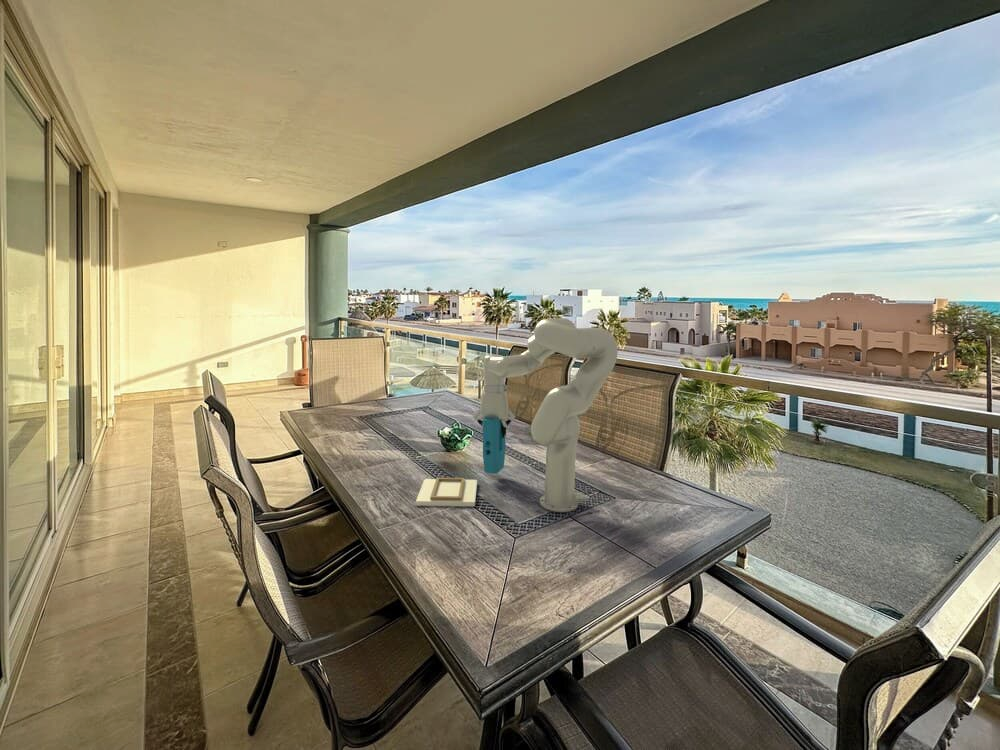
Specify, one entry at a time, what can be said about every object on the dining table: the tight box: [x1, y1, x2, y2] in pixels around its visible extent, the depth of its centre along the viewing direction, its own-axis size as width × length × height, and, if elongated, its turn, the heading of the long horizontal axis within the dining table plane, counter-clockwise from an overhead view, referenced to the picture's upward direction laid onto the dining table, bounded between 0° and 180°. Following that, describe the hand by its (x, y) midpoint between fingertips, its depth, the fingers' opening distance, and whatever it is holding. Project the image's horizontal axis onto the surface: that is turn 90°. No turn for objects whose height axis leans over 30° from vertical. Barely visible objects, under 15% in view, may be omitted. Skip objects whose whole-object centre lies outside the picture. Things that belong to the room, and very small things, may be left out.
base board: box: [415, 477, 478, 507], centre depth 157 cm, size 19×19×2 cm
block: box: [482, 418, 506, 475], centre depth 170 cm, size 12×5×20 cm, turn 160°
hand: (494, 436), depth 170 cm, fingers closed on block, 5 cm apart
